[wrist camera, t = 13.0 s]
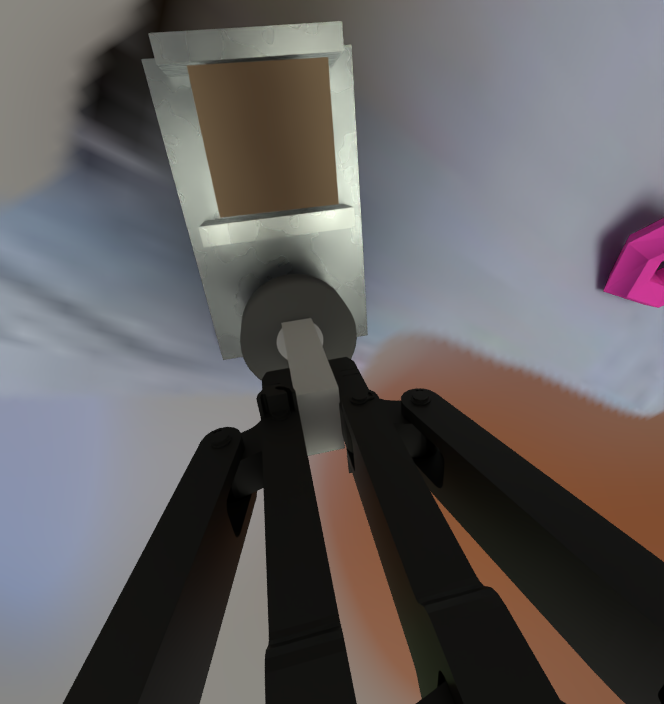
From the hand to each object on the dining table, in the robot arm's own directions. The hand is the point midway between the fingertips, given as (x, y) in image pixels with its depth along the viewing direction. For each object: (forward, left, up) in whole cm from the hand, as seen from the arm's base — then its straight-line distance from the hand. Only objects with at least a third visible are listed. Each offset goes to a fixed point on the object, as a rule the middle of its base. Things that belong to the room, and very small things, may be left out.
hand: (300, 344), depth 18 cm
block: (0, -9, -6) cm, 11 cm away
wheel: (0, 0, -4) cm, 4 cm away
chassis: (0, -5, -8) cm, 9 cm away
